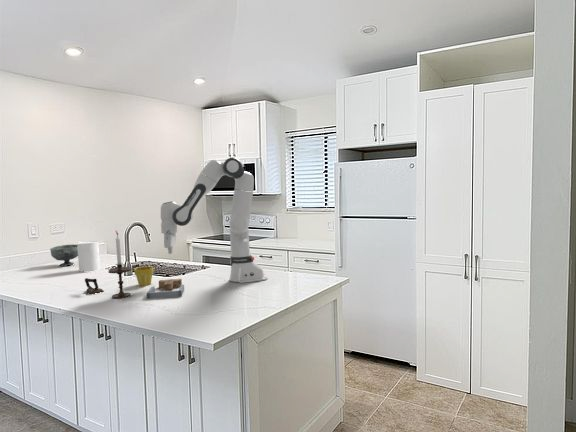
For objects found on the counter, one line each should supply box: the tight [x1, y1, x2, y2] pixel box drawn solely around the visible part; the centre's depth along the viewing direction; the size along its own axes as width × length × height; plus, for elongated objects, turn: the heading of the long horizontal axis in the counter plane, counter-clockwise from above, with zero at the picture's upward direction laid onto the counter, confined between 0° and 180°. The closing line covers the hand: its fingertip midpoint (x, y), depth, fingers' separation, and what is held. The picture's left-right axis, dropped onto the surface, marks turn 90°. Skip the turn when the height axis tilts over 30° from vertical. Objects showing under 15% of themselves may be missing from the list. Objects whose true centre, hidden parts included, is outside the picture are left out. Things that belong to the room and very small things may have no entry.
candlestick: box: [108, 230, 132, 300], centre depth 214 cm, size 11×11×35 cm
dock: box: [146, 284, 185, 300], centre depth 216 cm, size 17×14×3 cm
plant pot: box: [134, 266, 154, 287], centre depth 241 cm, size 10×10×10 cm
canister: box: [76, 240, 101, 272], centre depth 292 cm, size 14×14×20 cm
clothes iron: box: [84, 277, 105, 295], centre depth 227 cm, size 7×11×10 cm, turn 56°
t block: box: [158, 278, 183, 291], centre depth 228 cm, size 12×12×4 cm
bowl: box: [49, 244, 78, 267], centre depth 316 cm, size 20×19×15 cm
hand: (170, 253), depth 239 cm, fingers closed
